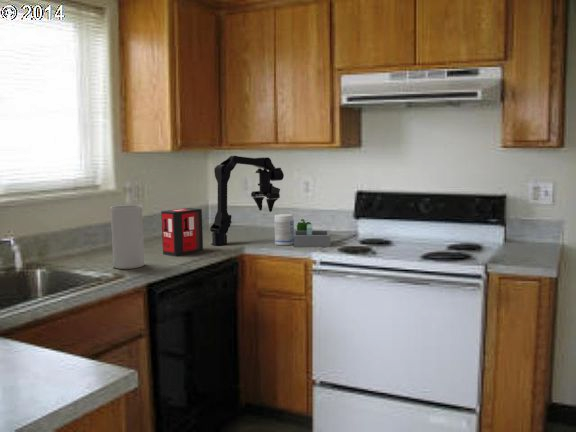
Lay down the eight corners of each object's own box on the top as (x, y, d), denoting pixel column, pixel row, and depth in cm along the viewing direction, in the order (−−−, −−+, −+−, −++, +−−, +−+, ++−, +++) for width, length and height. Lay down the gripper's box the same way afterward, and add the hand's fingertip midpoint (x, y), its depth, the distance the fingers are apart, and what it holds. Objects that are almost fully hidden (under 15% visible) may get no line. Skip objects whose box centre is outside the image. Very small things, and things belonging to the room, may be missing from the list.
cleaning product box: (190, 249, 292) (189, 208, 290) (203, 251, 286) (201, 209, 284) (163, 254, 280) (161, 211, 277) (175, 256, 274) (173, 212, 271)
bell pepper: (306, 235, 328) (306, 217, 327) (315, 237, 321) (314, 218, 320) (293, 237, 324) (293, 218, 322) (302, 239, 317) (301, 220, 316)
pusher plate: (307, 246, 294) (306, 227, 293) (307, 241, 307) (307, 224, 306) (311, 246, 294) (311, 227, 293) (312, 241, 307) (312, 224, 306)
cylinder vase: (136, 262, 262) (133, 204, 259) (149, 266, 252) (147, 206, 249) (108, 266, 253) (105, 206, 251) (121, 270, 244) (118, 209, 241)
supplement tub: (295, 245, 297) (294, 215, 295) (276, 246, 296) (275, 216, 294) (292, 242, 307) (292, 213, 305) (273, 243, 305) (273, 214, 304)
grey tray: (294, 247, 293) (293, 235, 292) (295, 241, 309) (295, 230, 309) (330, 246, 291) (330, 235, 291) (330, 241, 308) (330, 230, 308)
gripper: (287, 181, 313) (288, 211, 315) (267, 179, 328) (268, 208, 330) (270, 182, 307) (270, 213, 309) (250, 181, 322) (251, 210, 324)
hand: (265, 211), depth 318 cm, fingers open, 9 cm apart
